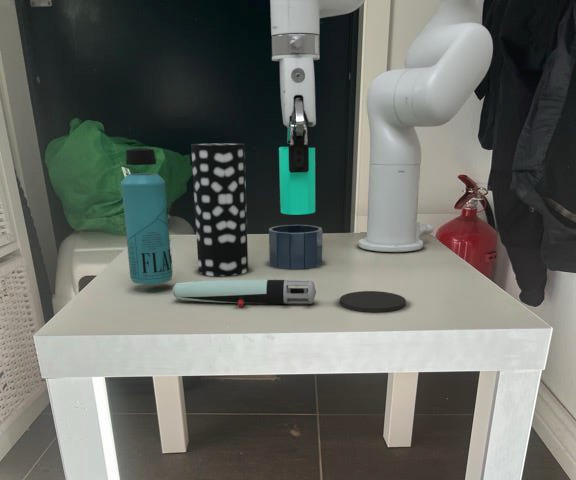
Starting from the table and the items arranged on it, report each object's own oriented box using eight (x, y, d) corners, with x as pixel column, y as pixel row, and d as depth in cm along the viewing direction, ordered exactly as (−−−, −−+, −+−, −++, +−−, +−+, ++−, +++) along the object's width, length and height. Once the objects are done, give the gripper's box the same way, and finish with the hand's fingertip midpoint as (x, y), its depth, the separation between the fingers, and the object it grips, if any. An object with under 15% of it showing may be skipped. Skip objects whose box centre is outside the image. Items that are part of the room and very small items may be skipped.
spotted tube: (188, 273, 107) (180, 144, 99) (216, 263, 114) (210, 143, 106) (231, 278, 103) (225, 145, 95) (257, 268, 110) (254, 143, 102)
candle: (279, 210, 113) (277, 137, 108) (313, 209, 113) (313, 136, 109) (281, 215, 108) (279, 138, 103) (317, 214, 108) (317, 137, 103)
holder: (302, 256, 119) (302, 223, 117) (332, 264, 112) (332, 229, 110) (259, 262, 115) (258, 228, 112) (288, 271, 108) (287, 235, 105)
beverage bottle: (140, 296, 93) (126, 149, 85) (124, 287, 98) (109, 148, 90) (181, 290, 96) (171, 148, 88) (163, 281, 101) (152, 146, 94)
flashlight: (166, 296, 87) (315, 297, 85) (172, 274, 89) (316, 275, 88) (171, 313, 89) (315, 314, 88) (176, 291, 92) (316, 292, 90)
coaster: (376, 291, 95) (376, 287, 94) (419, 305, 88) (419, 301, 87) (326, 301, 90) (326, 296, 90) (368, 316, 83) (368, 311, 83)
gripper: (325, 44, 93) (325, 174, 100) (314, 53, 109) (314, 165, 116) (273, 45, 93) (277, 175, 100) (269, 54, 108) (273, 166, 116)
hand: (297, 169), depth 108 cm, fingers closed on candle, 6 cm apart
